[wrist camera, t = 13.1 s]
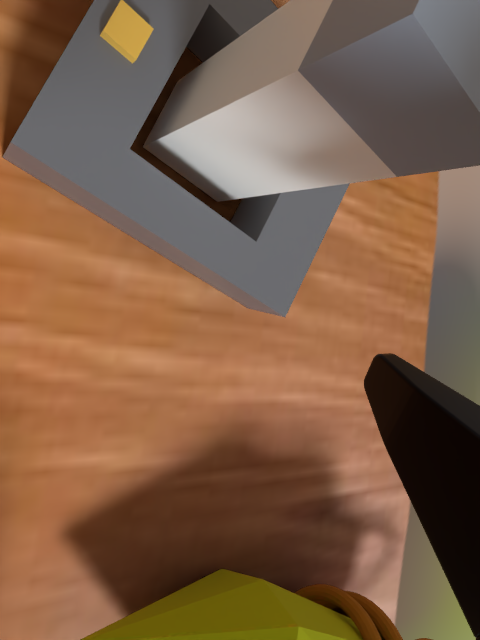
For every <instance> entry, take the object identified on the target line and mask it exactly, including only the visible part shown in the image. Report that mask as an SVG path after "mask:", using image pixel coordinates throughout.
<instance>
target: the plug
mask: <svg viewBox="0 0 480 640" xmlns="http://www.w3.org/2000/svg"><path fill="white" fill-rule="evenodd" d="M143 148H145V149H146V150H147V151H149V152H150V153H152V154H153V155H154V156H156V157H157V158H158V159H160V160H161V161H162V162H164V163H165V164H167V165H168V166H169V167H171V168H172V169H173V170H175V171H176V172H177V173H179V174H180V175H182V176H183V177H184V178H186V179H187V180H188V181H190V182H191V183H192V184H194V185H195V186H197V187H198V188H199V189H201V190H202V191H203V192H205V193H206V194H208V195H209V196H210V197H212V198H213V199H214V200H216V201H217V202H219V201H226V200H233V199H241V198H248V197H255V196H262V195H269V194H277V193H284V192H291V191H298V190H305V189H313V188H320V187H327V186H334V185H341V184H349V183H356V182H363V181H370V180H377V179H385V178H392V177H399V176H406V175H413V174H421V173H428V172H435V171H442V170H449V169H456V168H463V167H471V166H478V165H480V0H290V1H289V2H287V3H286V4H284V5H283V6H282V7H280V8H279V9H277V10H276V11H275V12H273V13H272V14H270V15H269V16H268V17H266V18H265V19H264V20H262V21H261V22H259V23H258V24H257V25H255V26H254V27H252V28H251V29H250V30H248V31H247V32H245V33H244V34H243V35H241V36H240V37H238V38H237V39H236V40H234V41H233V42H231V43H230V44H229V45H227V46H226V47H224V48H223V49H222V50H220V51H219V52H217V53H216V54H215V55H213V56H212V57H210V58H209V59H208V60H206V61H205V62H203V63H202V64H201V65H199V66H198V67H197V68H195V69H194V70H192V71H191V72H190V73H188V74H187V75H185V76H184V77H183V78H181V79H180V80H178V81H177V83H176V85H175V87H174V89H173V91H172V93H171V94H170V96H169V98H168V100H167V102H166V104H165V106H164V108H163V110H162V111H161V113H160V115H159V117H158V119H157V121H156V123H155V125H154V127H153V128H152V130H151V132H150V134H149V136H148V138H147V140H146V142H145V143H144V145H143Z"/></svg>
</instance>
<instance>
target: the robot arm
mask: <svg viewBox="0 0 480 640" xmlns="http://www.w3.org/2000/svg"><path fill="white" fill-rule="evenodd" d="M364 388H365V391H366V394H367V397H368V400H369V403H370V406H371V408H372V411H373V414H374V417H375V420H376V423H377V426H378V428H379V431H380V434H381V437H382V439H383V442H384V445H385V447H386V449H387V451H388V454H389V456H390V458H391V460H392V462H393V464H394V466H395V469H396V471H397V473H398V475H399V477H400V479H401V481H402V483H403V486H404V488H405V490H406V492H407V494H408V496H409V498H410V500H411V503H412V505H413V507H414V509H415V511H416V513H417V515H418V517H419V520H420V522H421V524H422V526H423V528H424V530H425V532H426V534H427V537H428V539H429V541H430V543H431V545H432V547H433V549H434V552H435V554H436V556H437V558H438V560H439V562H440V564H441V566H442V569H443V570H444V573H445V575H446V577H447V579H448V581H449V583H450V586H451V588H452V590H453V592H454V594H455V596H456V598H457V600H458V602H459V605H460V607H461V609H462V610H463V613H464V615H465V617H466V619H467V622H468V624H469V626H470V628H471V630H472V632H473V634H474V636H475V637H476V640H480V406H479V405H477V404H476V403H474V402H473V401H471V400H469V399H467V398H466V397H464V396H462V395H461V394H459V393H458V392H456V391H454V390H453V389H451V388H449V387H448V386H446V385H444V384H443V383H441V382H439V381H438V380H436V379H435V378H433V377H431V376H430V375H428V374H426V373H425V372H423V371H421V370H420V369H418V368H416V367H415V366H413V365H411V364H410V363H408V362H406V361H405V360H403V359H401V358H400V357H398V356H397V355H395V354H391V353H388V354H378V355H376V356H375V357H374V358H373V361H372V363H371V365H370V367H369V370H368V372H367V374H366V376H365V379H364Z"/></svg>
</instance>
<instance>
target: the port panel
mask: <svg viewBox="0 0 480 640" xmlns="http://www.w3.org/2000/svg"><path fill="white" fill-rule="evenodd" d="M277 9H278V8H277V7H276V6H275V5H274V3H273V2H272V1H271V0H94V1H93V3H92V5H91V6H90V8H89V10H88V11H87V13H86V15H85V16H84V18H83V20H82V22H81V23H80V25H79V27H78V28H77V30H76V32H75V33H74V35H73V37H72V39H71V40H70V42H69V44H68V45H67V47H66V49H65V50H64V52H63V54H62V56H61V57H60V59H59V61H58V62H57V64H56V66H55V67H54V69H53V71H52V73H51V74H50V76H49V78H48V79H47V81H46V83H45V84H44V86H43V88H42V90H41V91H40V93H39V95H38V96H37V98H36V100H35V101H34V103H33V105H32V107H31V108H30V110H29V112H28V113H27V115H26V117H25V118H24V120H23V122H22V124H21V125H20V127H19V129H18V130H17V132H16V134H15V135H14V137H13V139H12V141H11V142H10V144H9V146H8V148H7V150H6V152H5V153H4V155H3V158H4V159H6V160H8V161H9V162H11V163H12V164H14V165H16V166H17V167H19V168H21V169H22V170H24V171H25V172H27V173H29V174H30V175H32V176H34V177H35V178H37V179H38V180H40V181H42V182H43V183H45V184H47V185H48V186H50V187H52V188H53V189H55V190H56V191H58V192H60V193H61V194H63V195H65V196H66V197H68V198H69V199H71V200H73V201H74V202H76V203H78V204H79V205H81V206H82V207H84V208H86V209H87V210H89V211H91V212H92V213H94V214H95V215H97V216H99V217H100V218H102V219H104V220H105V221H107V222H108V223H110V224H112V225H113V226H115V227H117V228H118V229H120V230H122V231H123V232H125V233H126V234H128V235H130V236H131V237H133V238H135V239H136V240H138V241H139V242H141V243H143V244H144V245H146V246H148V247H149V248H151V249H152V250H154V251H156V252H157V253H159V254H161V255H162V256H164V257H165V258H167V259H169V260H170V261H172V262H174V263H175V264H177V265H178V266H180V267H182V268H183V269H185V270H187V271H188V272H190V273H192V274H193V275H195V276H196V277H198V278H200V279H201V280H203V281H205V282H206V283H208V284H209V285H211V286H213V287H214V288H216V289H218V290H219V291H221V292H222V293H224V294H226V295H227V296H229V297H231V298H232V299H234V300H235V301H237V302H239V303H240V304H242V305H244V306H245V307H247V308H249V309H253V310H257V311H261V312H265V313H270V314H274V315H278V316H282V317H285V316H286V314H287V312H288V310H289V308H290V306H291V304H292V302H293V300H294V298H295V296H296V294H297V291H298V289H299V287H300V285H301V283H302V281H303V279H304V277H305V275H306V273H307V271H308V269H309V267H310V264H311V262H312V260H313V258H314V256H315V254H316V252H317V250H318V248H319V246H320V244H321V242H322V240H323V238H324V235H325V233H326V231H327V229H328V227H329V225H330V223H331V221H332V219H333V217H334V215H335V213H336V211H337V208H338V206H339V204H340V202H341V200H342V198H343V196H344V194H345V192H346V190H347V188H348V186H349V184H350V183H349V184H341V185H334V186H327V187H320V188H313V189H305V190H298V191H291V192H284V193H277V194H269V195H262V196H255V197H248V198H242V200H241V202H240V204H239V206H238V208H237V210H236V212H235V214H234V216H233V218H232V220H231V222H229V221H227V220H226V219H225V218H223V217H222V216H221V215H219V214H218V213H216V212H215V211H214V210H212V209H211V208H210V207H208V206H207V205H206V204H204V203H203V202H201V201H200V200H199V199H197V198H196V197H195V196H193V195H192V194H191V193H189V192H188V191H186V190H185V189H184V188H182V187H181V186H180V185H178V184H177V183H176V182H174V181H173V180H171V179H170V178H169V177H167V176H166V175H165V174H163V173H162V172H161V171H159V170H158V169H157V168H155V167H154V166H152V165H151V164H150V163H148V162H147V161H146V160H144V159H143V158H142V157H140V156H139V155H137V154H136V153H135V152H133V151H132V150H131V149H130V147H131V146H132V144H133V142H134V140H135V138H136V136H137V135H138V133H139V131H140V129H141V127H142V126H143V124H144V122H145V120H146V118H147V117H148V115H149V113H150V111H151V109H152V108H153V106H154V104H155V102H156V100H157V98H158V97H159V95H160V93H161V91H162V89H163V88H164V86H165V84H166V82H167V80H168V79H169V77H170V75H171V73H172V71H173V69H174V68H175V66H176V64H177V62H178V60H179V59H180V57H181V55H182V53H183V51H184V50H185V48H186V47H187V48H188V49H189V50H190V51H191V52H193V53H194V54H195V55H196V56H197V57H198V58H199V59H200V60H201V61H202V62H205V61H206V60H208V59H209V58H210V57H212V56H213V55H215V54H216V53H217V52H219V51H220V50H222V49H223V48H224V47H226V46H227V45H229V44H230V43H231V42H233V41H234V40H236V39H237V38H238V37H240V36H241V35H243V34H244V33H245V32H247V31H248V30H250V29H251V28H252V27H254V26H255V25H257V24H258V23H259V22H261V21H262V20H264V19H265V18H266V17H268V16H269V15H270V14H272V13H273V12H275V11H276V10H277Z"/></svg>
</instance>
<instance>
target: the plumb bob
mask: <svg viewBox="0 0 480 640" xmlns="http://www.w3.org/2000/svg"><path fill="white" fill-rule="evenodd" d="M81 640H403V639H402V637H401V635H400V634H399V632H398V630H397V628H396V627H395V626H394V624H393V623H392V621H391V620H390V619H389V617H388V616H387V615H386V614H385V613H384V612H383V611H382V610H381V609H380V608H379V607H378V606H377V605H376V604H374V603H373V602H372V601H370V600H369V599H367V598H366V597H364V596H362V595H360V594H357V593H354V592H350V591H343V590H341V589H339V588H337V587H335V586H331V585H327V584H316V585H310V586H306V587H304V588H301V589H300V590H298V591H296V592H295V593H292V592H290V591H288V590H286V589H283V588H281V587H279V586H277V585H274V584H272V583H270V582H268V581H265V580H263V579H260V578H256V577H252V576H248V575H244V574H241V573H237V572H233V571H229V570H225V569H220V570H218V571H216V572H214V573H212V574H210V575H208V576H206V577H204V578H202V579H200V580H198V581H196V582H194V583H192V584H190V585H188V586H186V587H184V588H182V589H180V590H178V591H176V592H174V593H172V594H170V595H168V596H166V597H164V598H162V599H160V600H158V601H156V602H154V603H152V604H150V605H148V606H146V607H144V608H142V609H140V610H138V611H136V612H134V613H132V614H130V615H128V616H126V617H124V618H122V619H121V620H119V621H117V622H115V623H113V624H111V625H109V626H107V627H105V628H103V629H101V630H99V631H97V632H95V633H93V634H91V635H89V636H87V637H85V638H83V639H81ZM417 640H431V639H427V638H421V639H417Z"/></svg>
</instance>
